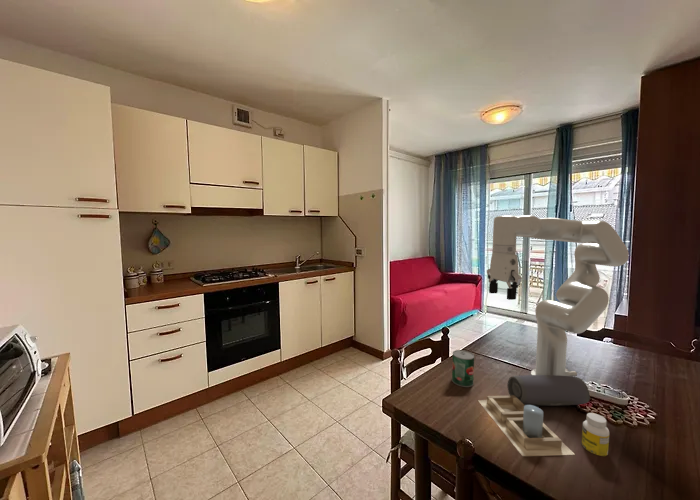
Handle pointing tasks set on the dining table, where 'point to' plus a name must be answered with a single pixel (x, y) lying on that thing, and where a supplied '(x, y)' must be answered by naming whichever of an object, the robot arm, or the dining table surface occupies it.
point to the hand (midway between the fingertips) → (501, 296)
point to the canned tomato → (463, 368)
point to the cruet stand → (511, 423)
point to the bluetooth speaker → (548, 390)
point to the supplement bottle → (595, 434)
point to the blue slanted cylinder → (532, 421)
